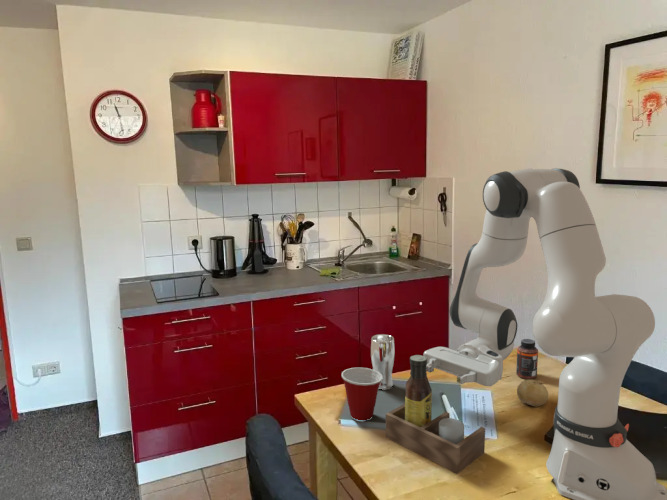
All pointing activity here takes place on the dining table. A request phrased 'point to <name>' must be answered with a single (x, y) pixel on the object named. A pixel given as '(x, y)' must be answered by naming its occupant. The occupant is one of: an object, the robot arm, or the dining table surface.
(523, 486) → the dining table surface
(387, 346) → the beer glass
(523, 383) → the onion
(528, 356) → the supplement bottle
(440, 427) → the grey rounded cylinder
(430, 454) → the walnut rail
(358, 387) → the plastic cup
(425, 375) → the sauce bottle
